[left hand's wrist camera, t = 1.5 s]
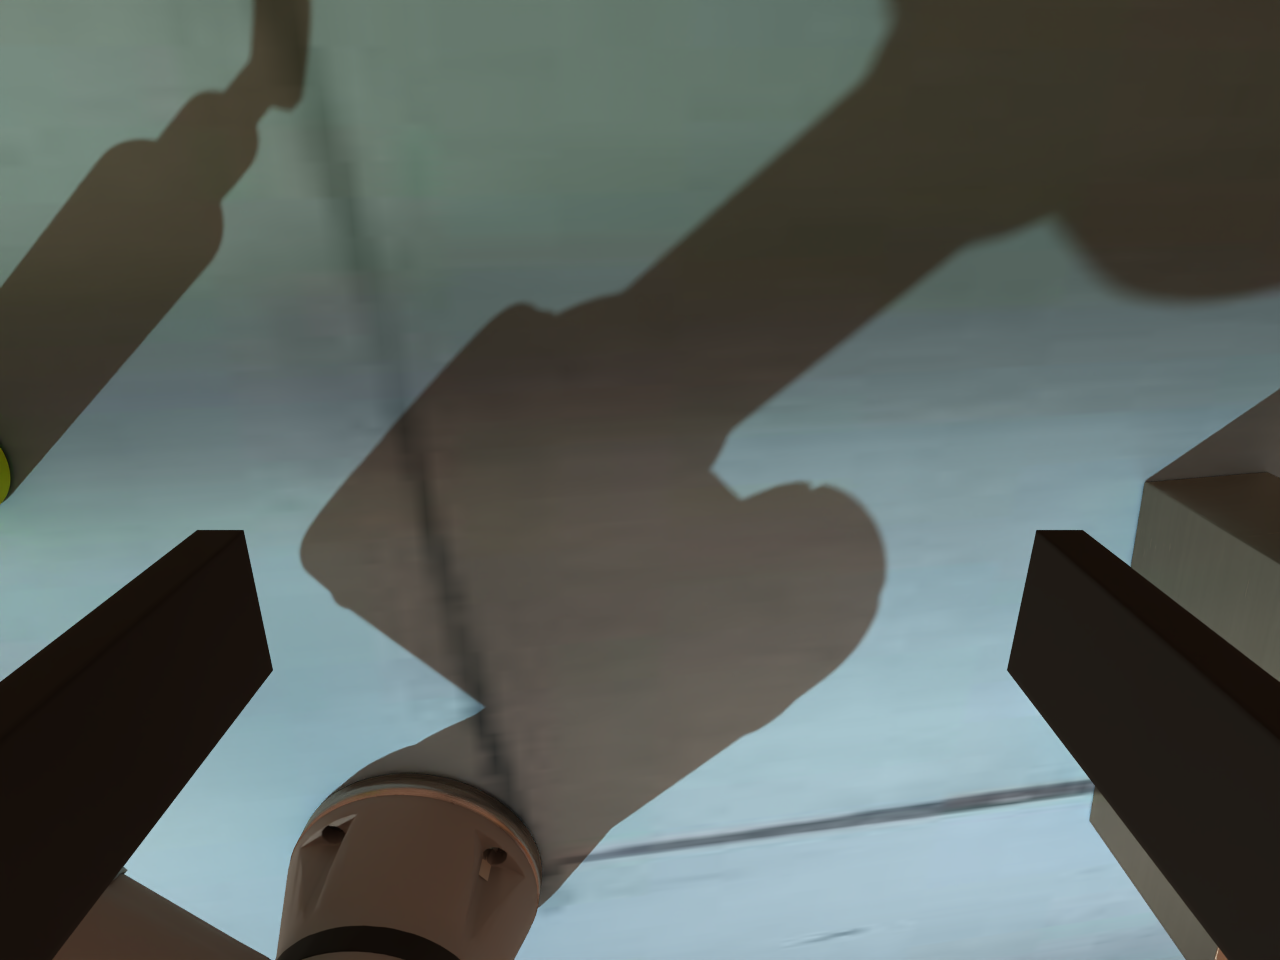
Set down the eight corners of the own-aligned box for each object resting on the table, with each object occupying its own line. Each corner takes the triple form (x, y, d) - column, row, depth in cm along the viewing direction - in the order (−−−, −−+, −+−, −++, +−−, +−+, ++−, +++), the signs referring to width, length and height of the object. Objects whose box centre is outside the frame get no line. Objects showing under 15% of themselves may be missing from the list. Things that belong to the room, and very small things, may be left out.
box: (1189, 814, 46) (1336, 984, 36) (1088, 820, 46) (1206, 991, 36) (1267, 471, 38) (1483, 572, 28) (1143, 481, 38) (1315, 584, 28)
